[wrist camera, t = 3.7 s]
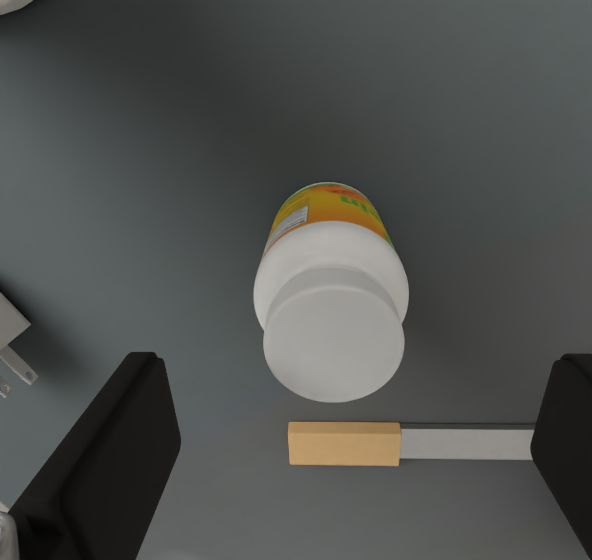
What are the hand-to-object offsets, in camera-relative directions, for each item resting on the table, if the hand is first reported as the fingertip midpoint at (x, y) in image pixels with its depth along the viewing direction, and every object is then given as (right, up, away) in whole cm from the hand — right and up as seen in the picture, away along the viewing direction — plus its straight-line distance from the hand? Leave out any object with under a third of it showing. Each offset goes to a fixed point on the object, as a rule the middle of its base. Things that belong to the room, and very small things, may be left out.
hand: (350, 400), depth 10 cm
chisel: (+7, -7, +16) cm, 19 cm away
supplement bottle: (0, +5, +10) cm, 12 cm away
